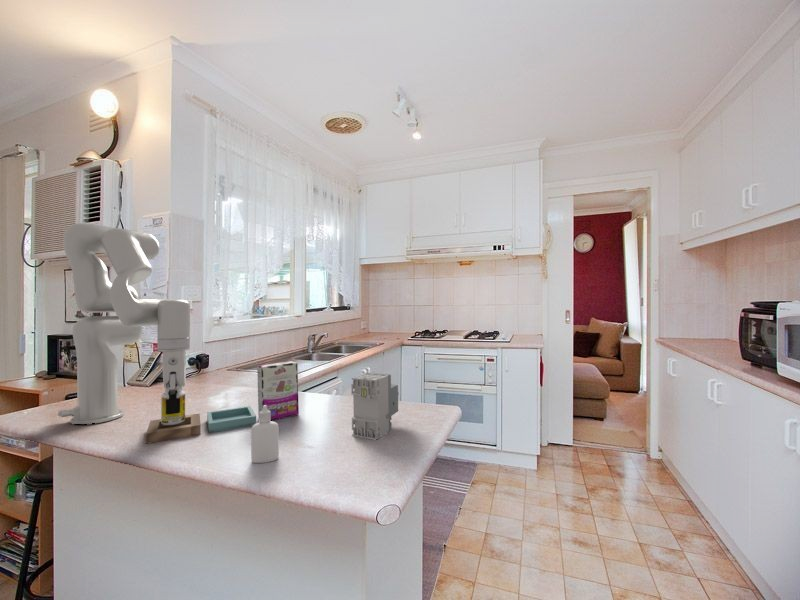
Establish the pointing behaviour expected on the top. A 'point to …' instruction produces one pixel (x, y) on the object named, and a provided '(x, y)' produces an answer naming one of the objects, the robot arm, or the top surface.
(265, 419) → the eye dropper bottle
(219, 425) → the tray
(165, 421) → the supplement bottle
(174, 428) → the brown rectangular holder box
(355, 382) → the circuit breaker
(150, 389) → the top surface
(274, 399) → the candy bar box
